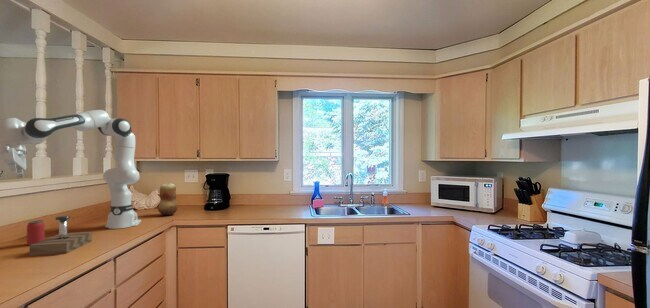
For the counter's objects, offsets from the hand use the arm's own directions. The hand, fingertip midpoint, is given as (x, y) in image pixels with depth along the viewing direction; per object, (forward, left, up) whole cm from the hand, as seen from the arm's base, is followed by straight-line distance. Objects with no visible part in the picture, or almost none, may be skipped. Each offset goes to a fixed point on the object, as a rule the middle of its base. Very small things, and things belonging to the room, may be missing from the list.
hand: (17, 175), depth 137 cm
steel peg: (-3, +17, -38) cm, 41 cm away
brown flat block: (-3, +17, -38) cm, 41 cm away
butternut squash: (-76, +44, -38) cm, 95 cm away
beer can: (-14, -2, -38) cm, 40 cm away
